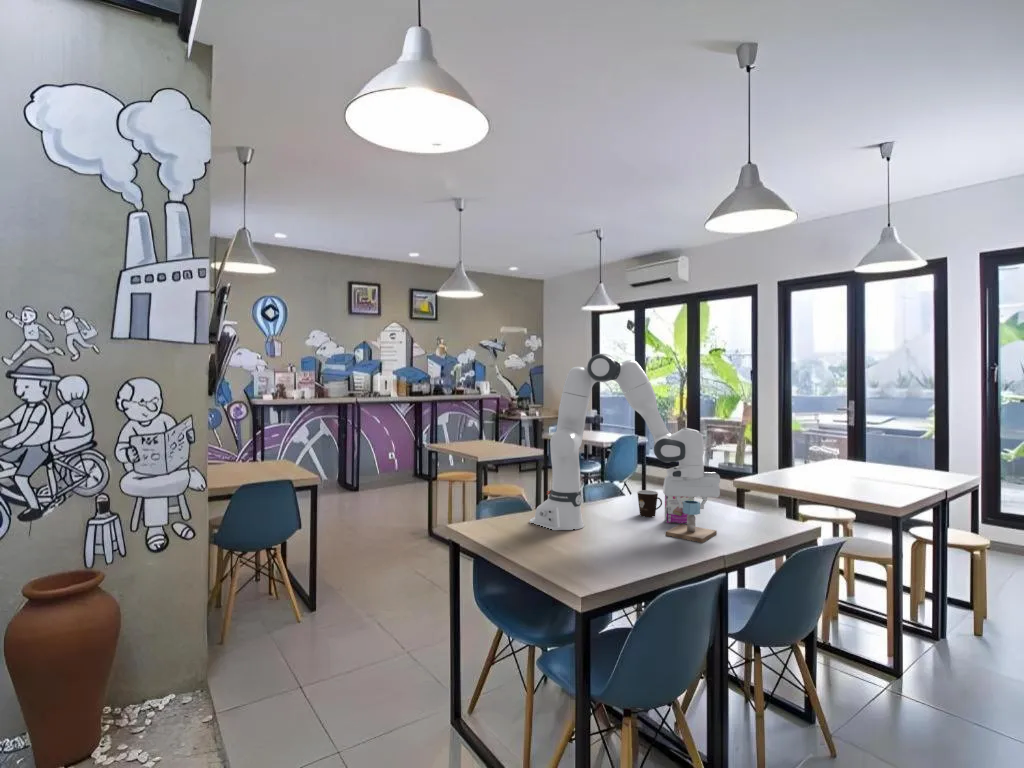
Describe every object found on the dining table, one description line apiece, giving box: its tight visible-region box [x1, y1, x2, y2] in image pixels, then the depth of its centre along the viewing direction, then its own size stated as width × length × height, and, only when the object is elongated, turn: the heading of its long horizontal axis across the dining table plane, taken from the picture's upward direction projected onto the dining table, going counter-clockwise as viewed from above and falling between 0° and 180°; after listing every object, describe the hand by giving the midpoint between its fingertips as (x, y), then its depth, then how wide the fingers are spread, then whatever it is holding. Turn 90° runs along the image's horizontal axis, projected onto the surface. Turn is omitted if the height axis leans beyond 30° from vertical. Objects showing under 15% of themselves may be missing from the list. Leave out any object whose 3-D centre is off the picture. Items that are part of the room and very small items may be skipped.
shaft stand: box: [665, 514, 718, 544], centre depth 201 cm, size 14×14×8 cm
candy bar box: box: [664, 494, 695, 524], centre depth 220 cm, size 11×5×16 cm, turn 84°
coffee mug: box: [637, 489, 663, 518], centre depth 230 cm, size 12×9×10 cm
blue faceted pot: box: [682, 500, 701, 516], centre depth 201 cm, size 6×6×4 cm
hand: (691, 508), depth 201 cm, fingers closed on blue faceted pot, 6 cm apart
